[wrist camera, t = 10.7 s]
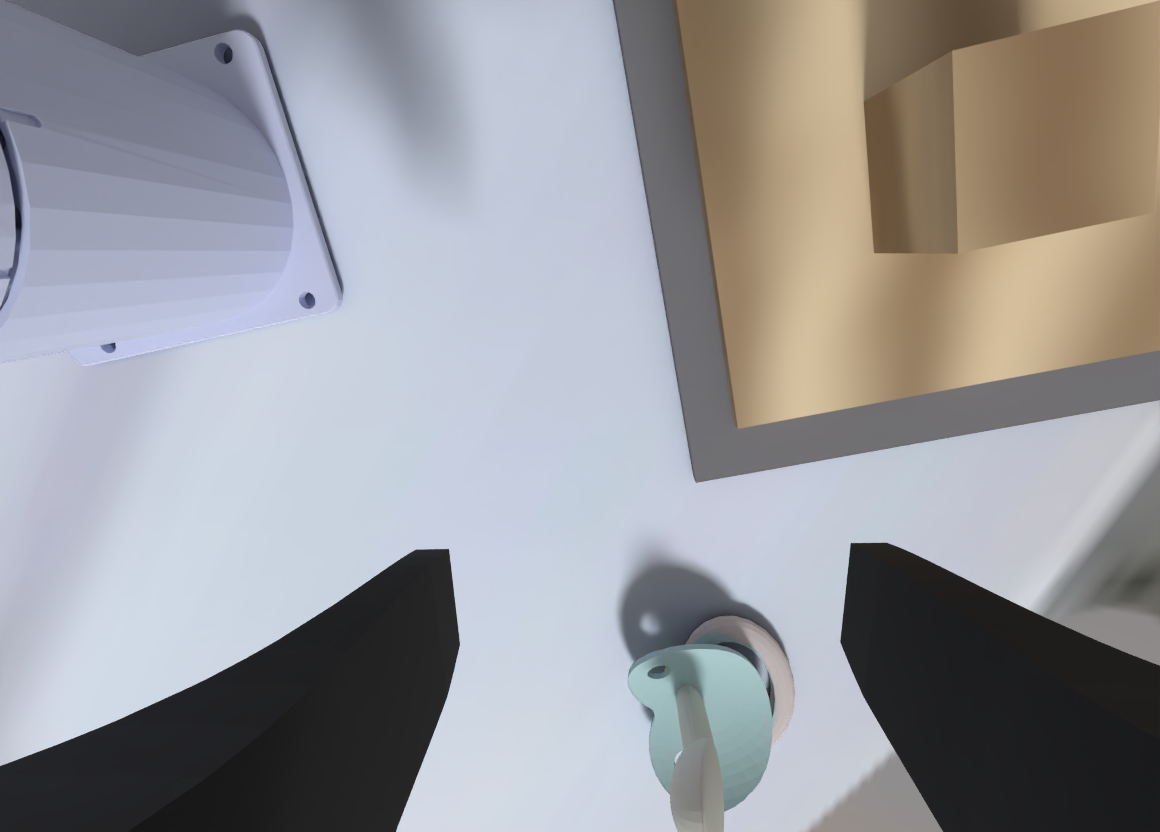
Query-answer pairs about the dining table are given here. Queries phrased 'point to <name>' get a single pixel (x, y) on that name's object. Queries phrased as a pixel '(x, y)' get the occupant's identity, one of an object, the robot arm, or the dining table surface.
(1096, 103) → the oak lid
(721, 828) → the pacifier
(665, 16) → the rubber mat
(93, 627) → the dining table surface
